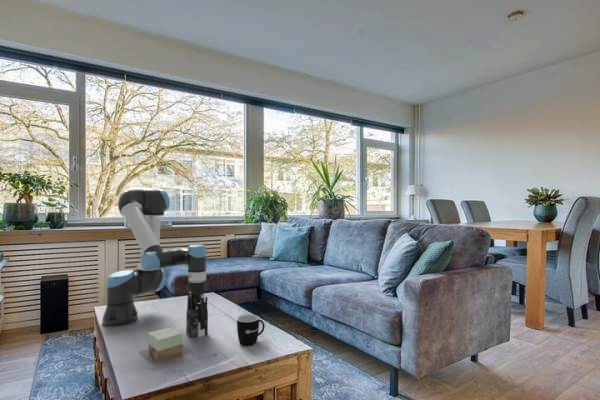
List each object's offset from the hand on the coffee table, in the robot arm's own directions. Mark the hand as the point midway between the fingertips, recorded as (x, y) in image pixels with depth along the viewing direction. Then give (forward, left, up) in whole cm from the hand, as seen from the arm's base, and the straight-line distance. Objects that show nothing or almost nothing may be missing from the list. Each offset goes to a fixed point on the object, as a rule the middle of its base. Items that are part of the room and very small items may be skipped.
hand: (197, 334), depth 145 cm
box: (0, 0, 0) cm, 0 cm away
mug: (+23, +12, 0) cm, 26 cm away
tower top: (+10, -18, +4) cm, 21 cm away
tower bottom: (+10, -18, 0) cm, 21 cm away
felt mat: (+8, -17, 0) cm, 19 cm away
